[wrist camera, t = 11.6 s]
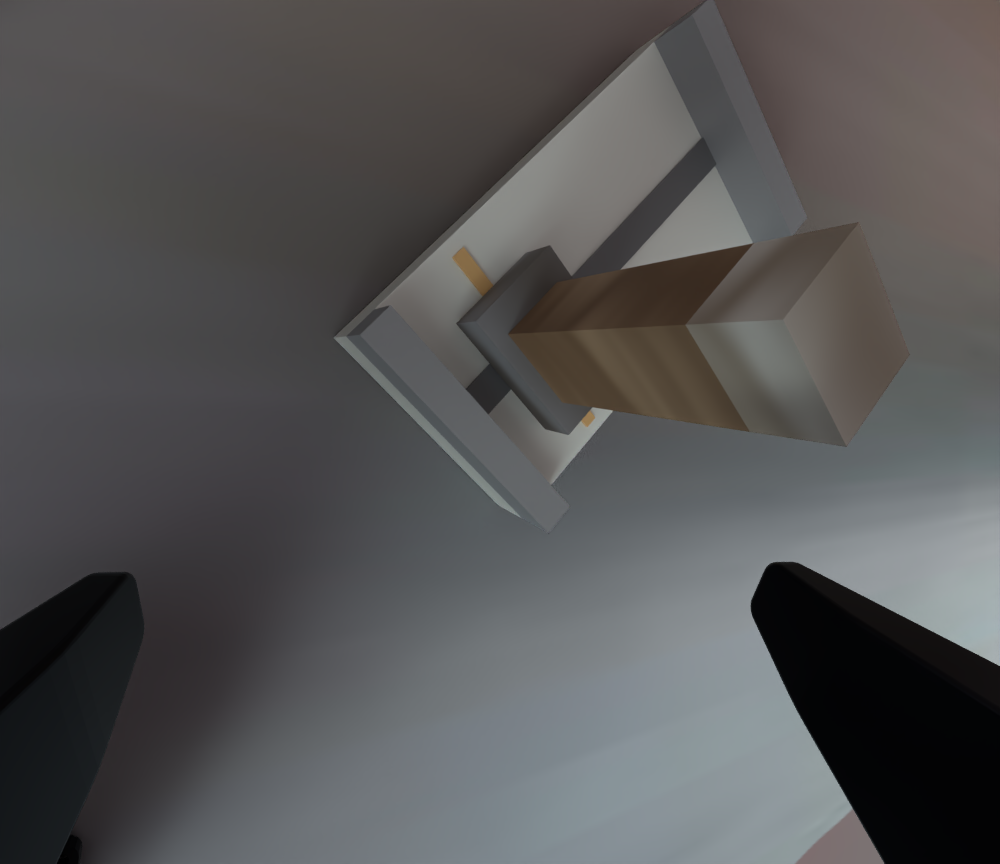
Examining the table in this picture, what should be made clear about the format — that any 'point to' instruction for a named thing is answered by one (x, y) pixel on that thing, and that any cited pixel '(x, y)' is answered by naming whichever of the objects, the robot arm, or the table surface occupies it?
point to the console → (579, 244)
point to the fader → (701, 337)
